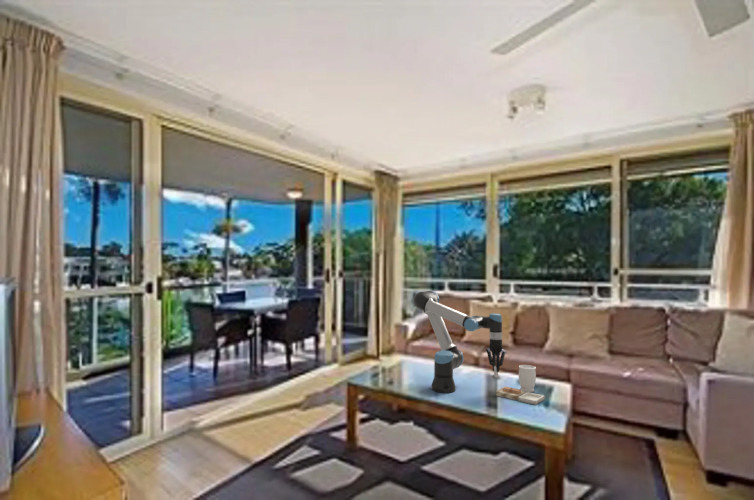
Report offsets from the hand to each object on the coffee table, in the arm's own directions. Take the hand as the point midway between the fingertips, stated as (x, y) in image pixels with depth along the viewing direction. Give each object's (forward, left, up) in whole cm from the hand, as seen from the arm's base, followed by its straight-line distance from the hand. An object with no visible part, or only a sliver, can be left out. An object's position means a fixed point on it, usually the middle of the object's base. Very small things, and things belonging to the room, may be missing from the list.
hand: (496, 376), depth 275 cm
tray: (+22, 0, -10) cm, 24 cm away
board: (+10, 0, -10) cm, 14 cm away
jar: (+13, +18, -10) cm, 24 cm away
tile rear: (+8, 0, -7) cm, 10 cm away
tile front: (+13, 0, -7) cm, 15 cm away
